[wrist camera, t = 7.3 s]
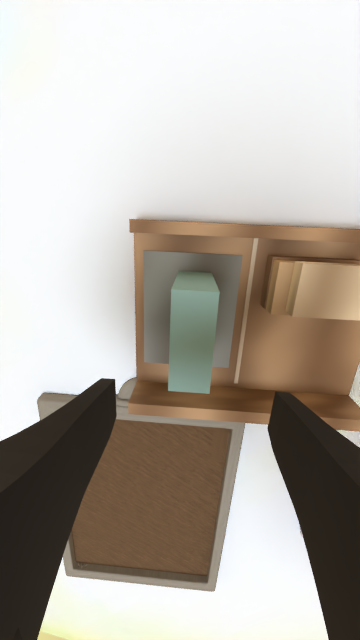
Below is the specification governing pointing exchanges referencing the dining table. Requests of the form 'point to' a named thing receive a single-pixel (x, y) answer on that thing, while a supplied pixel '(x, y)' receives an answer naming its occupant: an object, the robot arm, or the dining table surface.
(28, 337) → the dining table surface
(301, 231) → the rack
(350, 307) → the offcut stack
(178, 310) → the rectangular block
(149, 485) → the clipboard
